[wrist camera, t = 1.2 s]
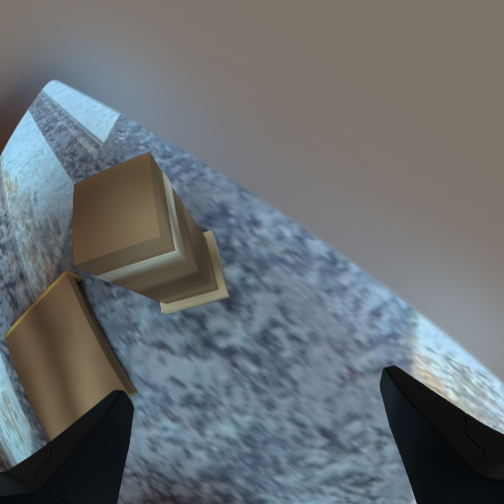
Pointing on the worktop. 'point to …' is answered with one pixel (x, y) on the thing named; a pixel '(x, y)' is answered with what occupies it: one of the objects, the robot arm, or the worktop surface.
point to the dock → (64, 356)
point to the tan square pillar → (145, 237)
